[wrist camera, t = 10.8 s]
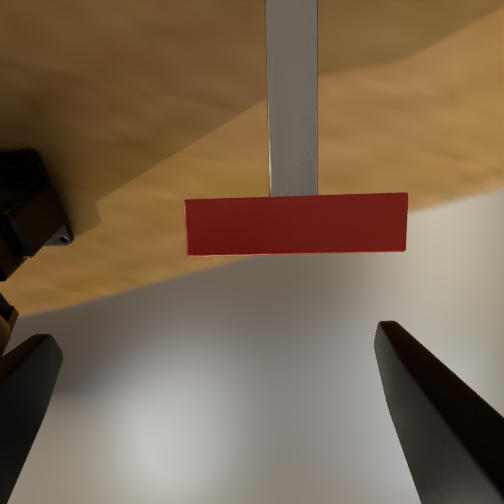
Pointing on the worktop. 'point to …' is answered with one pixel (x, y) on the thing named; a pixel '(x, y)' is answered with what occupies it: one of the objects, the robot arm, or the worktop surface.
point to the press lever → (294, 168)
